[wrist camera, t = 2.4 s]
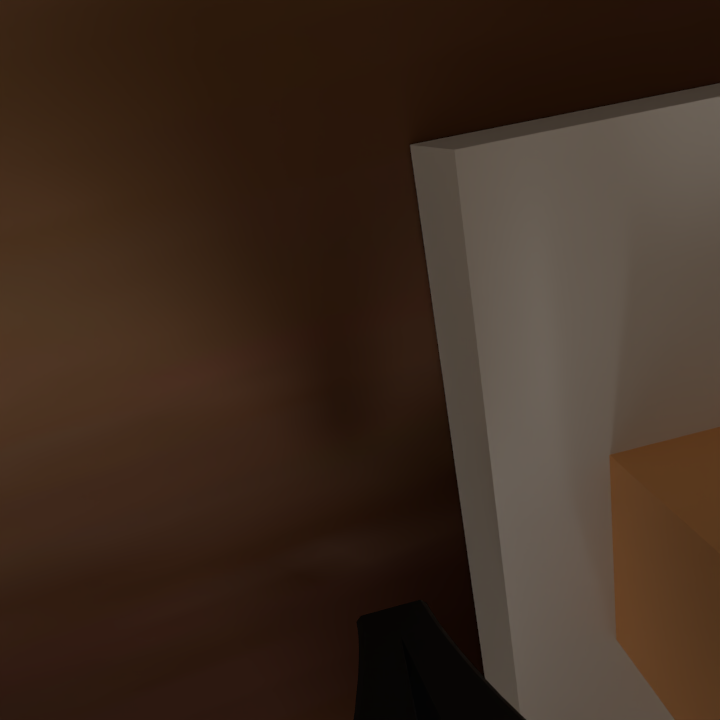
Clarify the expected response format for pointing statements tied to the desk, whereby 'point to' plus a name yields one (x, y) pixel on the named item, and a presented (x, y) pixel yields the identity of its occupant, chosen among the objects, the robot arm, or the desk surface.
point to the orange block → (670, 568)
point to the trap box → (569, 365)
